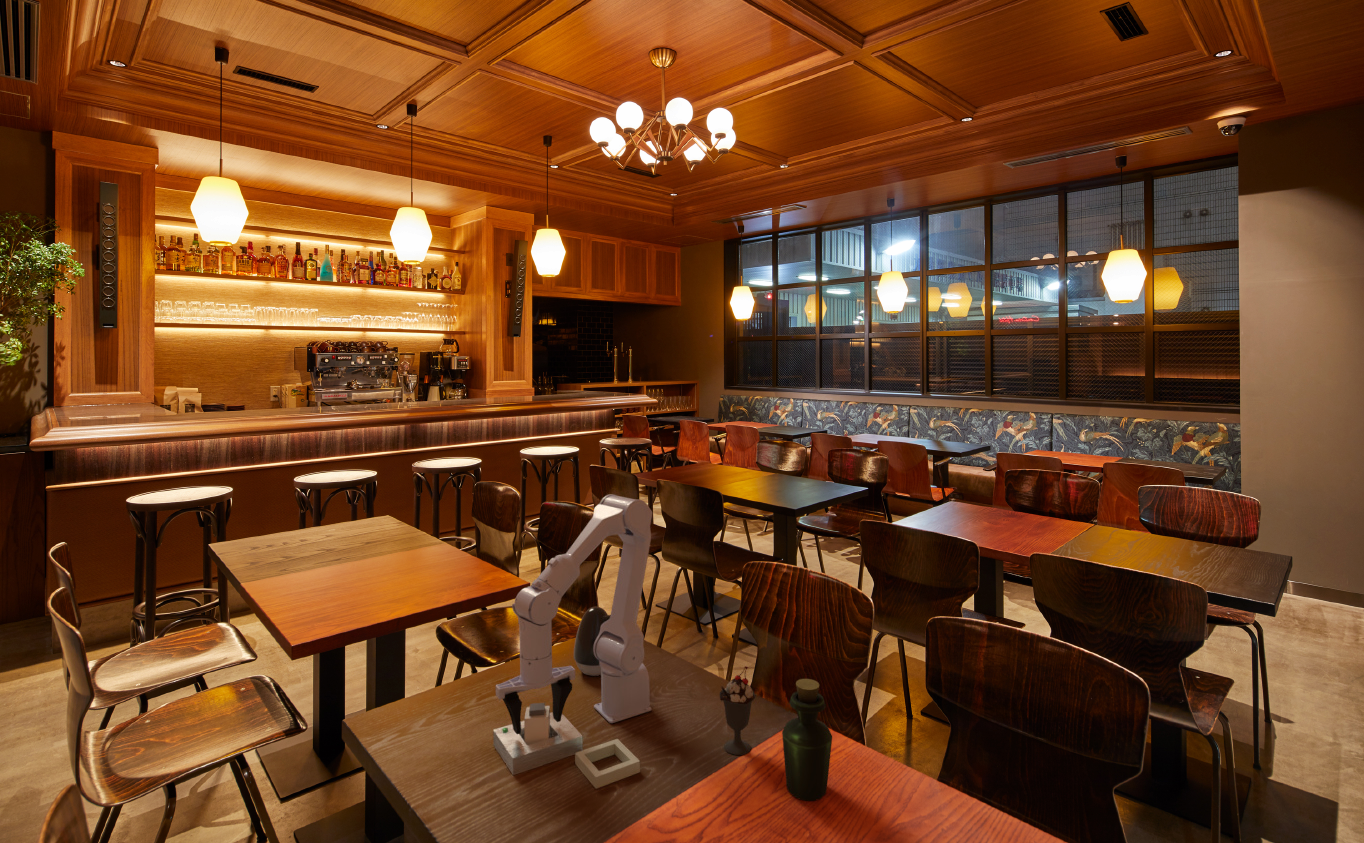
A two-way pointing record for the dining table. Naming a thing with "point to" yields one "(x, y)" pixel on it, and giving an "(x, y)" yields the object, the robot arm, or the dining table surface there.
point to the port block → (537, 745)
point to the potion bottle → (807, 744)
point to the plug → (537, 723)
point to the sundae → (737, 712)
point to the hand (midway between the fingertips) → (537, 725)
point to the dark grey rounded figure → (589, 640)
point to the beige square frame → (608, 775)
